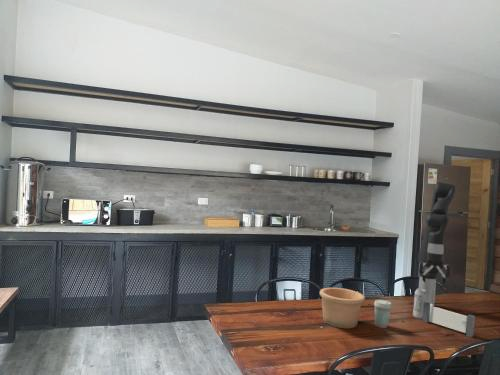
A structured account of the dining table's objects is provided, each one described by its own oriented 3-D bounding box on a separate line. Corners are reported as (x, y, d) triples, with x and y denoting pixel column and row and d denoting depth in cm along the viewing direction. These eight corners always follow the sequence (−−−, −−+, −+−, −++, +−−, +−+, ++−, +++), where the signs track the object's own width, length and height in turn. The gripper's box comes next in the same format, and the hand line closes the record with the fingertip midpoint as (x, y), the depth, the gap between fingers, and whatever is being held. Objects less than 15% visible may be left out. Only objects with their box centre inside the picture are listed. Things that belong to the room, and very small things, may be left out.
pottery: (314, 324, 183) (316, 295, 183) (321, 311, 204) (323, 285, 203) (360, 334, 175) (363, 303, 175) (363, 319, 196) (365, 292, 196)
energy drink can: (427, 319, 204) (429, 291, 204) (417, 319, 203) (419, 291, 203) (420, 315, 210) (422, 288, 210) (410, 315, 209) (412, 288, 209)
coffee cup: (381, 330, 183) (383, 305, 183) (368, 323, 191) (370, 299, 190) (394, 328, 187) (396, 303, 187) (380, 321, 195) (382, 298, 194)
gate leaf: (428, 321, 198) (429, 304, 198) (429, 320, 199) (431, 303, 199) (465, 333, 185) (466, 314, 185) (466, 332, 186) (468, 314, 186)
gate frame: (422, 321, 200) (423, 302, 200) (424, 320, 202) (425, 302, 202) (471, 337, 182) (473, 316, 182) (473, 336, 184) (475, 316, 184)
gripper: (421, 251, 198) (419, 282, 198) (451, 254, 193) (449, 286, 192) (420, 249, 205) (418, 280, 205) (449, 253, 200) (447, 283, 199)
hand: (433, 283), depth 199 cm, fingers open, 8 cm apart
